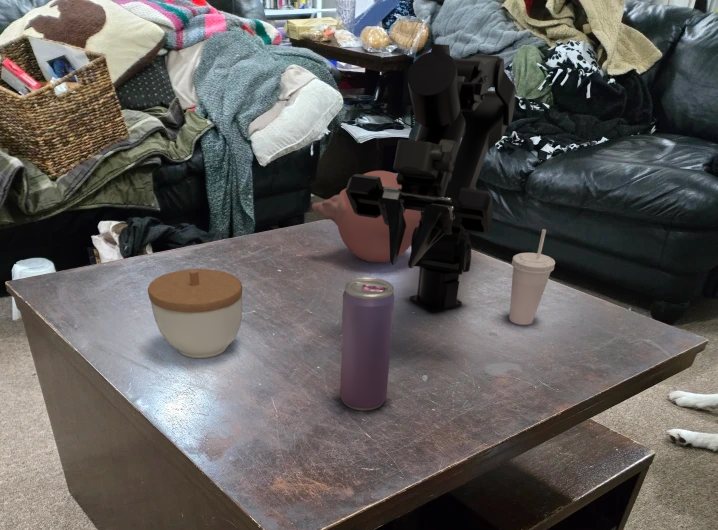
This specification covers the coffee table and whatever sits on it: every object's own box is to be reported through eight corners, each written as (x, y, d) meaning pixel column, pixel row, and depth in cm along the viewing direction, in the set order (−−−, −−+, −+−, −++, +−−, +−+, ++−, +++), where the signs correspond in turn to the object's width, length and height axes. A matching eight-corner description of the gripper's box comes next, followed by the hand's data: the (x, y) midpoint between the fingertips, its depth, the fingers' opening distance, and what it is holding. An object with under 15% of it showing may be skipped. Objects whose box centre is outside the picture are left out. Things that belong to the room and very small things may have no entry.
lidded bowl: (212, 320, 99) (205, 248, 92) (264, 348, 93) (259, 273, 86) (141, 345, 92) (126, 269, 85) (190, 377, 86) (179, 297, 79)
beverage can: (382, 415, 80) (391, 299, 70) (335, 409, 80) (338, 293, 71) (389, 391, 84) (398, 279, 75) (344, 386, 85) (348, 274, 75)
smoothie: (545, 329, 100) (567, 237, 91) (504, 328, 100) (523, 236, 91) (536, 312, 105) (556, 223, 96) (497, 311, 105) (514, 222, 96)
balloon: (314, 244, 128) (314, 159, 118) (414, 247, 128) (422, 163, 118) (309, 272, 116) (308, 180, 106) (418, 276, 116) (428, 184, 106)
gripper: (353, 101, 78) (316, 220, 77) (505, 116, 73) (467, 244, 72) (372, 159, 89) (340, 265, 88) (505, 176, 83) (472, 288, 83)
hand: (400, 265), depth 82 cm, fingers closed
